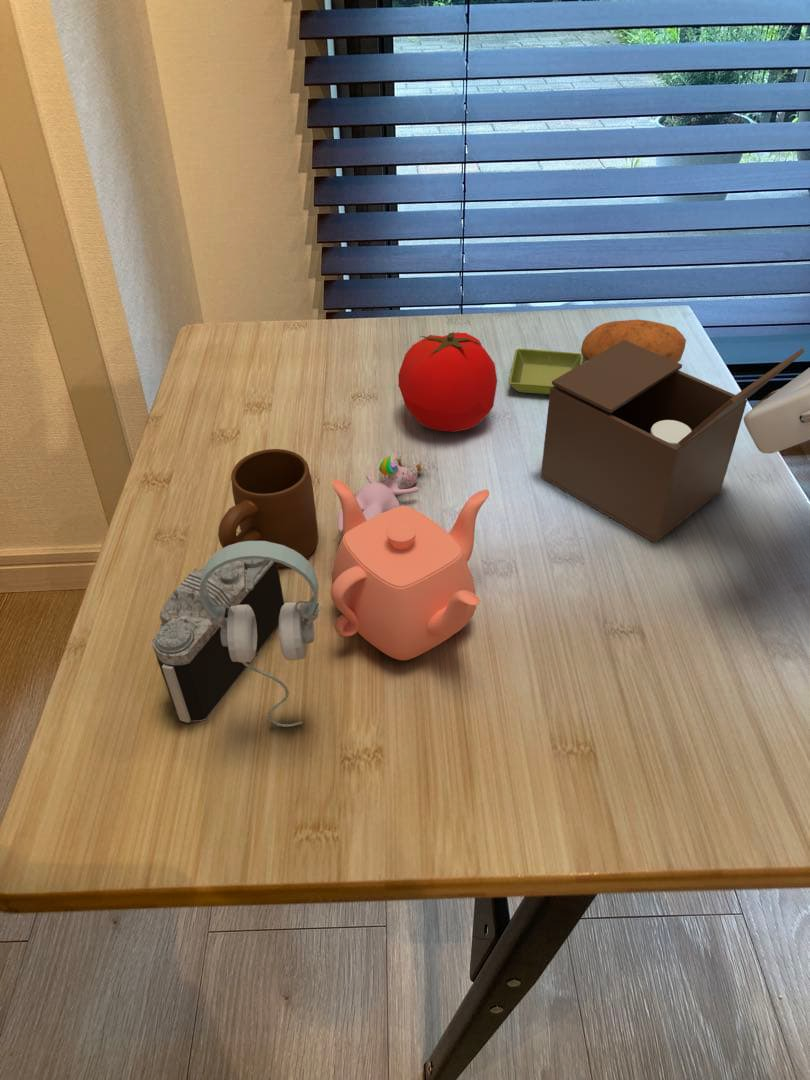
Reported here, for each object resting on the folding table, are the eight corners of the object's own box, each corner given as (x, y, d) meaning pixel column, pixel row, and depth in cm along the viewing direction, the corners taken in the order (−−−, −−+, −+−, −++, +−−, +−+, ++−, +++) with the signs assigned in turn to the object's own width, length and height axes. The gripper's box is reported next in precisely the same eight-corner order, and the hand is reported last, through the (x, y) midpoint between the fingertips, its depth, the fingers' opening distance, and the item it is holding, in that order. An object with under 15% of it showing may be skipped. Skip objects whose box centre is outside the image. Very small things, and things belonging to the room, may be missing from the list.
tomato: (477, 456, 96) (481, 370, 89) (385, 436, 99) (381, 352, 92) (508, 402, 104) (513, 319, 97) (421, 385, 108) (420, 304, 100)
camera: (233, 589, 81) (215, 509, 74) (294, 610, 79) (281, 530, 72) (135, 703, 71) (104, 623, 65) (201, 730, 69) (175, 651, 62)
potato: (671, 394, 105) (675, 345, 100) (574, 377, 111) (573, 330, 106) (688, 361, 109) (693, 313, 104) (593, 346, 115) (593, 300, 110)
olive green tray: (507, 397, 105) (508, 382, 104) (514, 361, 111) (515, 347, 110) (577, 403, 104) (579, 389, 102) (581, 367, 110) (583, 353, 109)
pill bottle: (651, 476, 92) (665, 411, 86) (689, 496, 89) (706, 430, 84) (625, 496, 89) (637, 430, 84) (663, 517, 87) (678, 450, 81)
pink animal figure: (384, 475, 96) (318, 538, 85) (386, 427, 93) (317, 487, 81) (434, 488, 94) (373, 555, 83) (438, 440, 91) (375, 503, 79)
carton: (720, 491, 91) (749, 392, 82) (654, 543, 85) (678, 443, 76) (607, 433, 99) (623, 339, 91) (540, 477, 93) (550, 380, 85)
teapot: (341, 560, 84) (332, 472, 77) (484, 570, 82) (490, 482, 75) (311, 674, 73) (297, 584, 66) (475, 688, 72) (480, 598, 64)
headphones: (233, 749, 68) (183, 571, 54) (238, 709, 71) (192, 530, 57) (336, 745, 68) (312, 566, 54) (337, 704, 71) (315, 525, 57)
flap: (748, 392, 82) (750, 395, 82) (677, 442, 77) (680, 446, 76) (802, 347, 76) (805, 351, 76) (730, 398, 70) (733, 402, 70)
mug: (268, 609, 79) (253, 535, 73) (202, 584, 82) (183, 510, 75) (333, 532, 87) (325, 459, 81) (271, 512, 90) (259, 439, 83)
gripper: (872, 444, 58) (715, 490, 70) (989, 340, 68) (834, 396, 80) (831, 363, 58) (680, 424, 70) (955, 271, 68) (804, 338, 80)
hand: (763, 408), depth 75 cm, fingers closed
